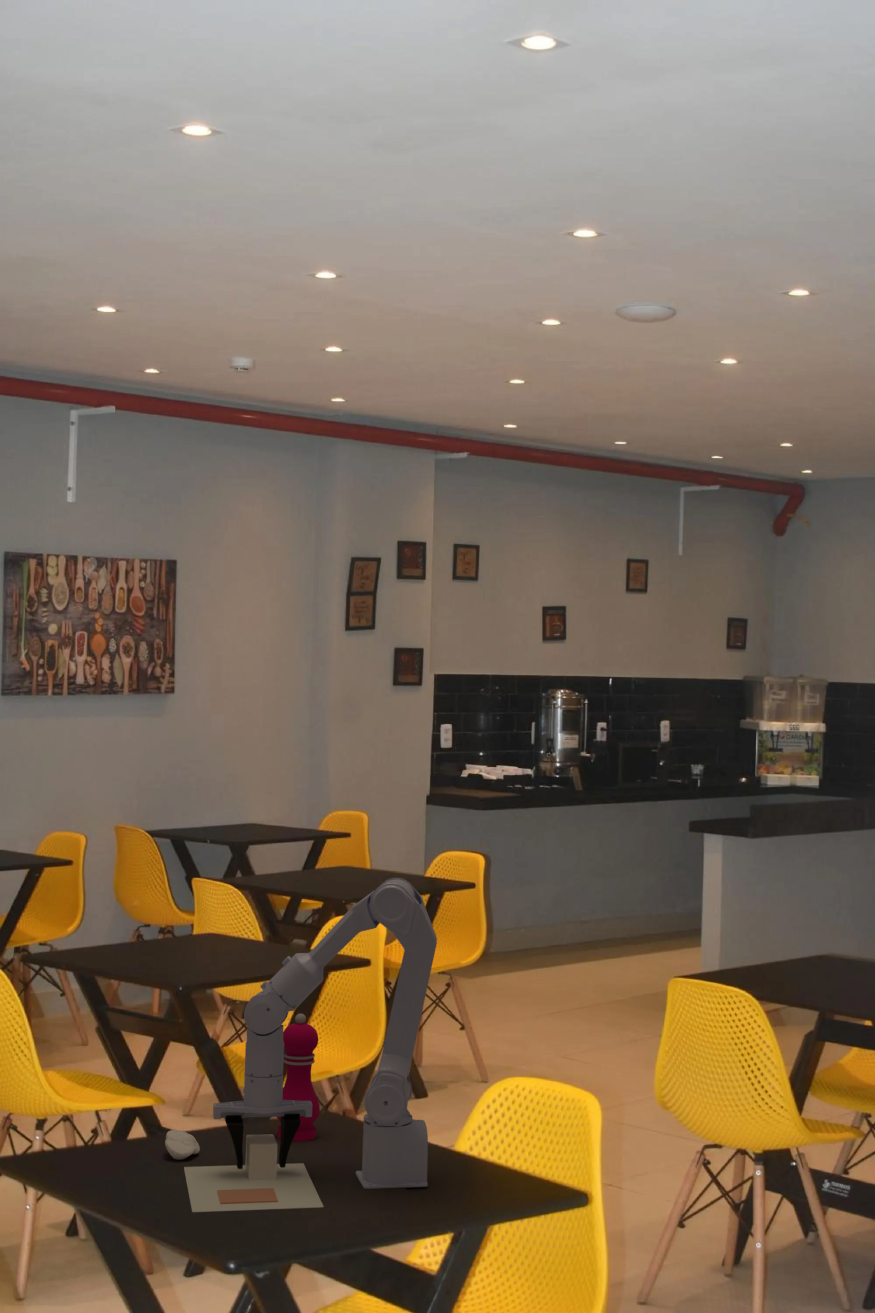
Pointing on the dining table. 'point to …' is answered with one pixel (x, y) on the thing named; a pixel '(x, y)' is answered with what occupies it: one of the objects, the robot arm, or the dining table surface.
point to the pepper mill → (300, 1073)
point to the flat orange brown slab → (247, 1196)
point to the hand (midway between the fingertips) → (260, 1166)
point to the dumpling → (181, 1144)
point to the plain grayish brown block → (261, 1157)
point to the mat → (288, 1187)
